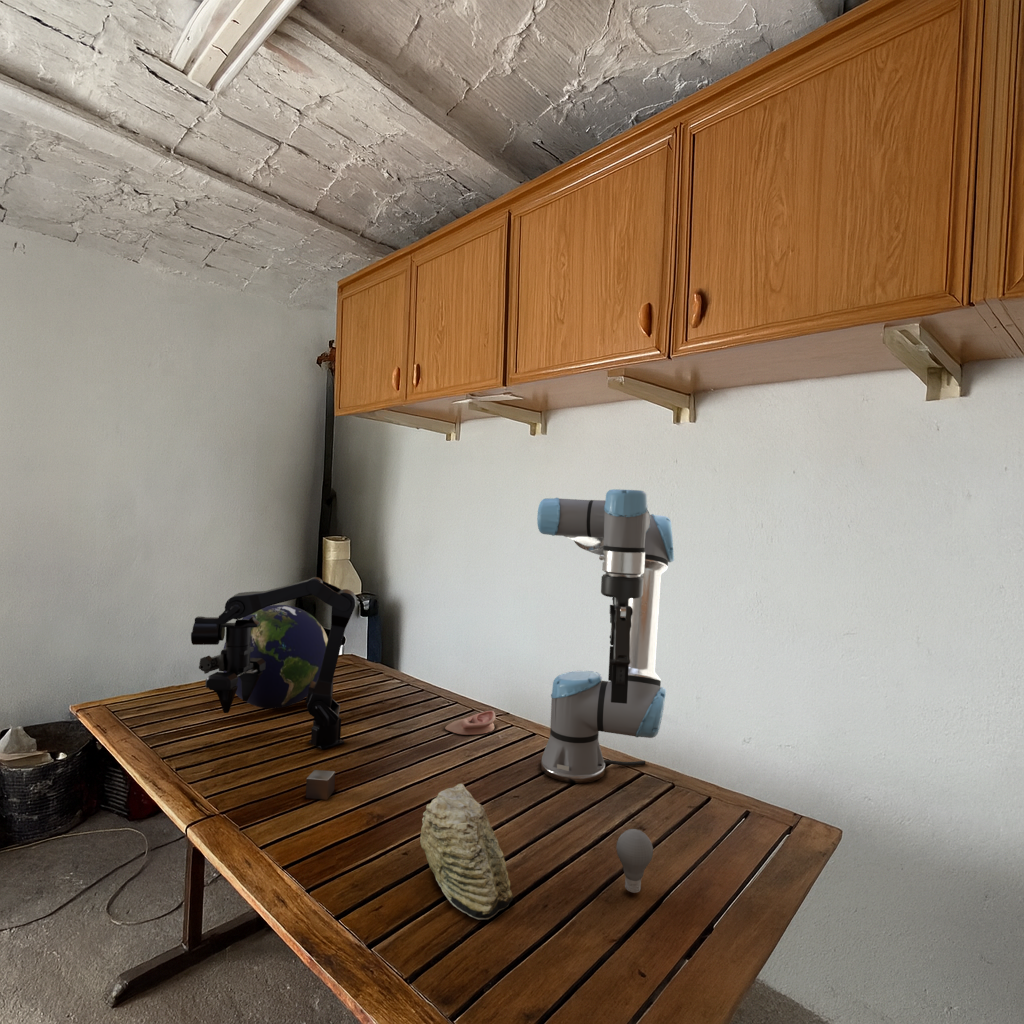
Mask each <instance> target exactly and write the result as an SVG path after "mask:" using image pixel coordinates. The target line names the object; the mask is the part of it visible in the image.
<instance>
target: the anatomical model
mask: <svg viewBox="0 0 1024 1024" xmlns="http://www.w3.org/2000/svg"><path fill="white" fill-rule="evenodd" d="M495 720H496V713H495V711H494V710H486V711H482V712H478V713H476V714H472V715H471V716H467V717H464V718H462V719H457V720H454V721H452V722H449V723H448V724H447V725H446V726H445V727H444V729H445V730H446V731H448V732H451V733H454V734H457V735H462V736H470V735H471V736H472V735H482V734H487V733H490V732H493V731H494V730H495V724H494V722H495Z"/></svg>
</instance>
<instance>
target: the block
mask: <svg viewBox="0 0 1024 1024" xmlns="http://www.w3.org/2000/svg"><path fill="white" fill-rule="evenodd" d="M335 782H336V771H334V770H325V769H324V770H322V769H313V771H312V772H311V773H310V774H309V775H308V776H307V777H306V782H305V783H306V784H305V785H306V786H305V799H311V800H323V801H324V800H325V801H327V800H328V799H329V798H330V797H331V796H332V794H333V793H334V791H335V784H336V783H335Z"/></svg>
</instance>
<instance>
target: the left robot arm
mask: <svg viewBox="0 0 1024 1024" xmlns="http://www.w3.org/2000/svg"><path fill="white" fill-rule="evenodd" d="M307 596H308V597H309V596H314V597H316V598H318V599H319V600H320V601H322V602H323V603H325V604H326V605H328V606H330V607H331V612H330V613H331V614H330V615H331V616H330V617H331V618H330V630H329V634H328V636H327V638H328V641H327V646H326V650H325V654H324V658H323V662H322V666H321V670H320V674H319V677H318V680H317V682H314V681H311V683H310V686H309V690H308V695H307V697H306V698H305V701H304V704H305V705H306V711H307V713H308V714H309V715H310V716H311V717H313V721H312V722H313V723H312V727H311V730H310V731H311V732H310V733H311V735H310V739H309V740H308V743H309V744H310V745H313V746H314V747H316V748H318V749H320V750H327V749H329V748H333V747H336V746H340V745H343V744H344V743H345V741H344V740H343V739H341V737H342V735H341V733H342V717H340V711H341V705H340V704H339V703H338V702H337V701H336V700H335V699H333V695H334V694H333V693H334V677H335V674H336V673H335V671H336V668H337V664H338V660H339V656H340V652H341V648H342V643H343V640H344V635H345V632H346V631H345V630H346V628H347V626H348V624H349V622H350V619H351V617H352V615H353V613H354V611H355V608H356V605H357V596H356V595H355V592H353V591H352V590H350V589H347V588H344V589H341V588H340V587H338V586H336V585H333V584H331V583H329V582H326V581H325V580H323V579H322V578H321V577H318V576H313V577H310V578H309V579H306V580H301V581H298V582H293V583H289V584H287V585H283V586H279V587H276V588H272V589H268V590H261V591H259V590H257V591H245V592H237V593H236V594H234V595H232V596H231V597H229V598H228V599H227V601H226V602H225V604H224V611H223V612H222V613H220V615H218V617H216V616H215V617H212V616H209V617H208V616H196V617H195V618H194V623H193V625H192V630H191V632H190V642H191V644H192V645H193V646H197V645H198V646H203V645H204V646H217V645H219V644H220V642H221V641H224V640H225V642H226V648H225V649H224V648H223V649H221V650H220V654H218V655H214V656H210V655H207V656H203V657H201V658H199V662H198V663H199V665H198V669H199V670H200V671H202V672H203V673H204V675H206V674H209V673H210V672H214V671H216V670H218V671H217V672H214V673H212V674H210V675H208V677H206V678H205V686H204V687H205V688H206V689H209V690H210V691H213V692H214V693H215V694H216V695H217V697H218V700H219V703H220V706H221V708H222V711H223V713H224V714H229V713H230V710H231V708H232V706H233V702H234V699H235V696H236V694H235V693H236V691H237V688H238V686H236V685H237V682H238V676H239V678H240V679H241V687H242V698H243V700H242V701H243V702H245V701H248V699H249V697H250V695H251V693H252V691H253V689H254V687H255V685H256V683H257V681H258V679H259V678H260V676H261V674H262V673H263V670H265V666H266V662H265V661H264V660H263V659H262V658H250V652H252V651H254V647H250V646H251V627H257V626H258V625H259V624H260V622H259V621H257V620H256V619H255V618H254V616H252V617H251V618H250V619H243V618H244V617H246V616H248V615H250V614H253V613H255V612H257V611H259V610H261V609H263V608H265V607H267V606H272V605H279V604H282V603H286V602H290V601H293V600H297V599H300V598H305V597H307ZM232 620H235V622H231V621H232ZM223 671H226V672H227V673H226V672H223Z"/></svg>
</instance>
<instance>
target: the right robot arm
mask: <svg viewBox="0 0 1024 1024" xmlns="http://www.w3.org/2000/svg"><path fill="white" fill-rule="evenodd" d="M648 508H649V506H648V494H647V492H645V491H644V490H639V489H638V490H637V489H621V488H619V489H615V488H614V489H609V490H608V491H606V493H605V500H601V499H573V498H559V497H552V498H551V497H549V498H543V499H541V500H540V502H539V505H538V508H537V516H536V517H537V518H536V521H537V522H536V523H537V528H538V531H539V533H540V534H542V535H546V536H547V535H548V536H552V537H555V536H556V537H557V536H559V537H565V538H567V539H569V540H572V541H573V542H574V543H575V545H576V546H577V547H579V548H580V549H582V550H584V551H585V552H589V553H592V554H595V555H597V556H599V557H598V559H599V560H600V561H602V565H601V566H602V572H603V573H604V574H602V575H601V583H600V594H601V595H603V596H604V597H607V598H611V601H612V604H609V623H610V624H611V625H610V635H609V644H610V646H609V653H608V654H609V656H608V675H607V676H608V681H607V680H603V677H602V675H601V673H599V672H597V671H593V670H574V671H567V672H564V673H561V674H559V675H557V676H556V677H555V678H554V680H553V681H552V689H551V694H550V698H551V701H550V702H551V703H550V704H551V706H550V726H549V727H550V730H549V737H548V741H547V742H546V745H545V748H544V751H543V753H542V757H541V760H540V765H541V766H540V769H541V770H542V772H543V773H544V774H545V775H547V776H548V777H550V778H552V779H555V780H557V781H561V782H566V783H573V784H585V783H591V782H596V781H597V780H600V779H602V777H604V776H605V770H606V769H605V768H606V765H613V766H614V765H615V766H624V767H626V766H627V767H631V766H644V765H646V761H645V760H638V761H622V760H621V761H620V760H612V759H604V756H603V752H602V749H601V744H600V741H599V736H600V735H599V732H603V733H608V734H616V735H622V736H628V737H629V736H630V737H635V738H646V739H653V738H656V736H657V735H659V732H660V728H661V722H662V721H663V715H664V709H665V703H666V697H667V688H665V687H664V686H661V684H662V683H661V682H662V679H661V678H660V676H659V675H658V674H657V672H656V660H657V659H656V658H657V642H658V630H659V629H658V627H659V625H658V624H659V611H660V596H661V580H662V579H661V578H662V574H663V573H665V572H666V571H667V570H668V568H669V563H673V562H674V561H675V554H674V552H675V551H674V540H673V539H674V538H673V529H672V520H671V519H670V518H669V517H668V516H666V515H661V514H660V515H658V514H654V513H651V514H650V511H649V510H648Z"/></svg>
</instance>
